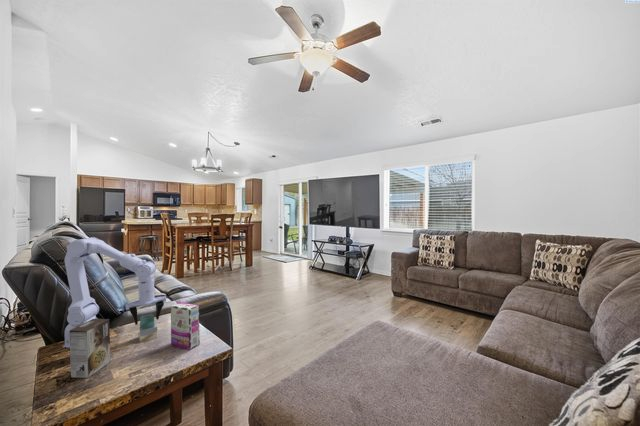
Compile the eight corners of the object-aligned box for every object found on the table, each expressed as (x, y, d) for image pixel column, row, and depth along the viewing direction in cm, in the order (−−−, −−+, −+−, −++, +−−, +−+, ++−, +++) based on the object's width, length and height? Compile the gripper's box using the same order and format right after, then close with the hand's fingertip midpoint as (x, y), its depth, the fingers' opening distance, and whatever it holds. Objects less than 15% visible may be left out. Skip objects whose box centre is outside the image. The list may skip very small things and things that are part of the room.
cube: (142, 330, 109) (141, 319, 109) (140, 326, 112) (140, 316, 112) (154, 326, 112) (154, 316, 112) (152, 323, 115) (152, 313, 115)
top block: (141, 336, 108) (141, 330, 108) (139, 332, 112) (139, 326, 112) (156, 332, 112) (156, 326, 112) (154, 328, 116) (154, 322, 116)
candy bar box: (200, 344, 106) (199, 305, 106) (190, 350, 102) (189, 309, 101) (181, 339, 110) (180, 301, 110) (170, 344, 106) (169, 305, 106)
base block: (140, 343, 108) (140, 337, 108) (138, 338, 112) (138, 332, 112) (156, 338, 112) (156, 332, 112) (154, 333, 116) (154, 328, 116)
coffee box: (94, 361, 95) (93, 318, 94) (111, 361, 94) (110, 318, 94) (69, 377, 86) (68, 330, 85) (88, 378, 85) (87, 330, 85)
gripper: (126, 296, 104) (127, 329, 104) (167, 289, 114) (168, 319, 114) (125, 292, 109) (125, 324, 109) (164, 285, 119) (164, 314, 119)
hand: (147, 321), depth 112 cm, fingers open, 7 cm apart
